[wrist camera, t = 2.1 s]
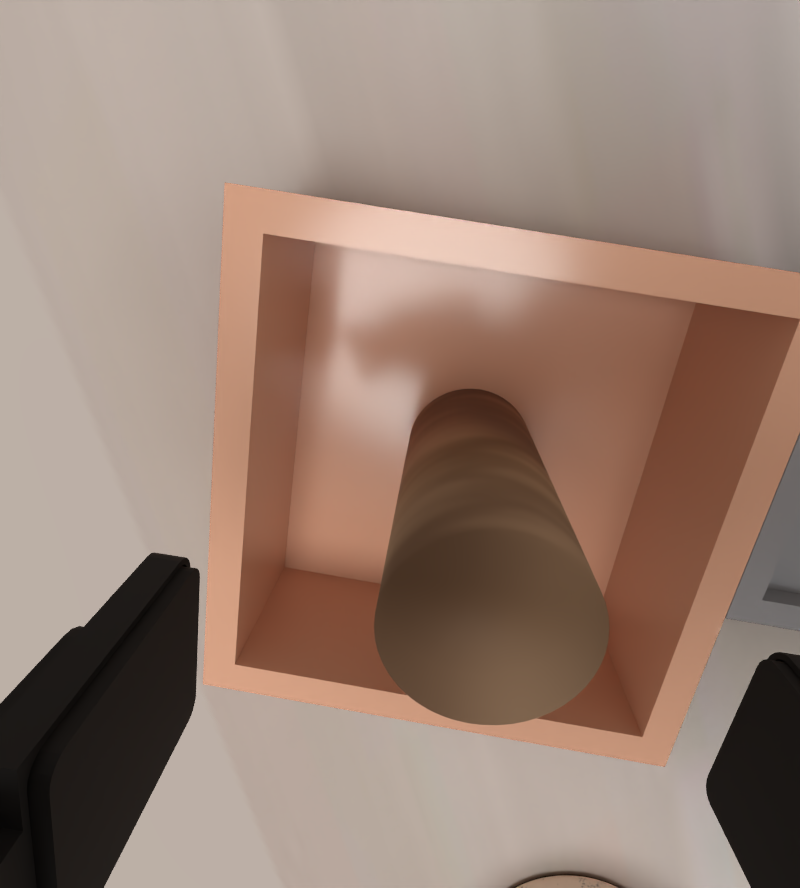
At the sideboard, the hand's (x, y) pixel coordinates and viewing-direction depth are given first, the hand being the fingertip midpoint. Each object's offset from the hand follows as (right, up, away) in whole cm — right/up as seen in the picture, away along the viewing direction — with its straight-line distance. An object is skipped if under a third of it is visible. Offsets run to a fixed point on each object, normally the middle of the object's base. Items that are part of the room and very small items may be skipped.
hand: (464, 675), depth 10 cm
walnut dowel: (+2, +4, +12) cm, 13 cm away
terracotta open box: (+2, +4, +13) cm, 13 cm away
